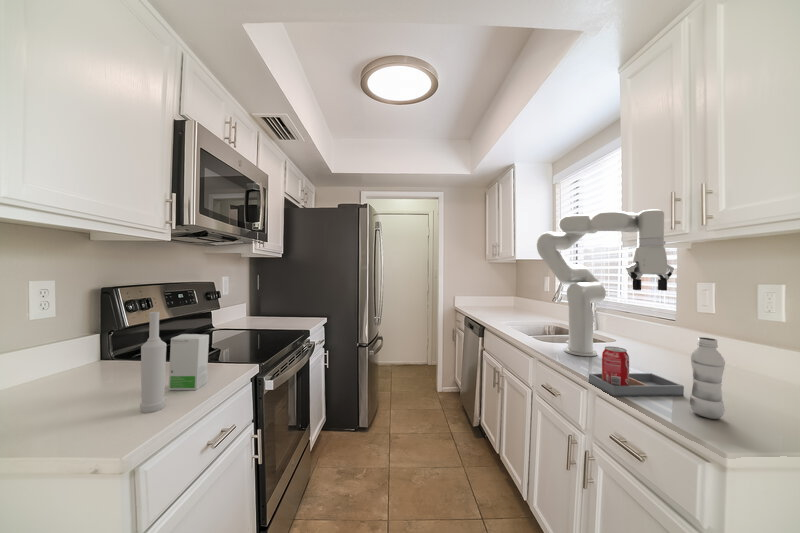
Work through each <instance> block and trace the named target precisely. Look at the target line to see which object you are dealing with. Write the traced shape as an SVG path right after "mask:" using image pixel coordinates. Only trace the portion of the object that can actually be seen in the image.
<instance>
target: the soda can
mask: <svg viewBox="0 0 800 533" xmlns="http://www.w3.org/2000/svg"><path fill="white" fill-rule="evenodd" d="M601 353H602V355H601V373H602V380H604V381H606V382H608V383H610V384H612V385H614V386H628V385H629V373H630V355H629V354H628V352H627V349H626V348H623V347H618V346H610V345H609V346H605V347H604V350H603V351H602V352H601Z"/></svg>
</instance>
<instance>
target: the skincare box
mask: <svg viewBox="0 0 800 533" xmlns="http://www.w3.org/2000/svg"><path fill="white" fill-rule="evenodd" d="M209 344H210V334H198V333H191V334H190V333H182V334H181V333H180V334H179V335H177V336H172V337H171V338H170V348H169V349H170V350H169V351H170V352H169V367H168V368H169V370H168V371H169V373H168V389H167V390H168V391H197V390H199V389H200V388H201V387H203V386H204V385H206V384H207V382H208V368H209V367H208V362H209V361H208V360H209V347H210V346H209Z"/></svg>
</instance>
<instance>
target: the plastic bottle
mask: <svg viewBox="0 0 800 533" xmlns="http://www.w3.org/2000/svg"><path fill="white" fill-rule="evenodd" d="M696 344H697V346H698V347H697V348H696V349H695V350H694V351H693V352H692V353H691V355H690V363H691V370H692V377H693V378H692V390H691V394H690V397H689V406H690V409H691V411H692V412H693V413H695V414H696V415H698V416H699V417H700V416H701V417H703V418H706V419H711V420H712V419H713V420H720V419H721V418H723V417H724V415H725V411H726V410H725V404H724V401H723V393H722V392H723V391H722V387H723V386H722V385H723V384H722V383H723V375H724V370H725V366H726V360H725V358H724V357H723V356H722V354H721V353H720V352H719V351H718V350H717V348H719V345H718V339H715V338H709V337H701V336H700V337H697V343H696Z"/></svg>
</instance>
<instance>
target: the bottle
mask: <svg viewBox="0 0 800 533" xmlns="http://www.w3.org/2000/svg"><path fill="white" fill-rule="evenodd" d="M148 314H149V316H148V318H149V319H148V320H149V332H148V334H149V337H148V338H147V340H146V342H144V343H143V344H142V345H141V346H140V356H141V357H140V366H141V369H140V370H141V371H140V374H141V376H140V378H141V402H140V404H139V409H140V412H141V413H143V414H148V413H156V412H158V411H160V410H161V411H162V410H163V409H164V408H165V406H166V398H165V389H166V387H165V386H166V364H167V362H166V361H167V343H166V342H165V341H164V340H162V339H161V337H160V311H151V312H149V313H148Z"/></svg>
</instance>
